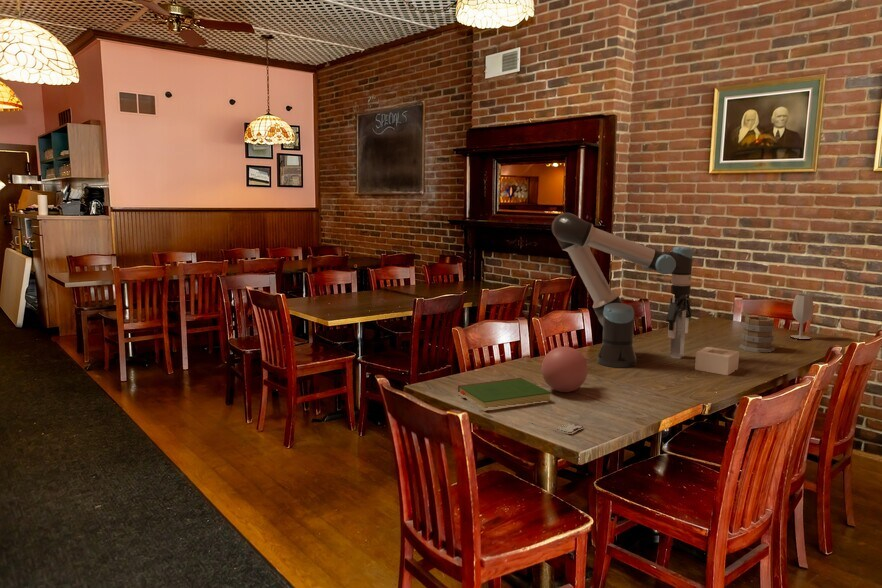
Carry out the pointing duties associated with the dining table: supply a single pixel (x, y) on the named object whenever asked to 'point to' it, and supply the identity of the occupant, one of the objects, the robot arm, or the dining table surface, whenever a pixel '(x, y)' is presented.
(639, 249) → the robot arm
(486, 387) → the hardcover book
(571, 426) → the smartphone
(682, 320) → the steel bar
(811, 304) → the wineglass
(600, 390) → the dining table surface
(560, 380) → the matte pink sphere
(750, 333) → the tankard
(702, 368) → the well block
